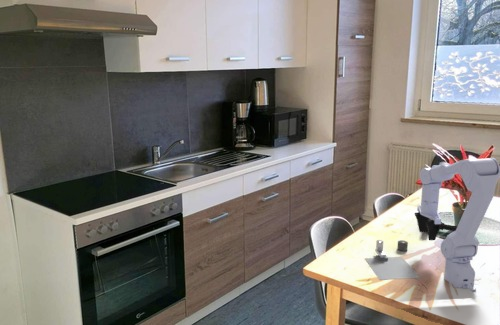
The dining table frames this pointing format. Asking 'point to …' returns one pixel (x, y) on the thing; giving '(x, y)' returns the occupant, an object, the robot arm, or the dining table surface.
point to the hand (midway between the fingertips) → (427, 235)
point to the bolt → (380, 248)
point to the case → (391, 268)
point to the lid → (402, 245)
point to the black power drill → (446, 227)
